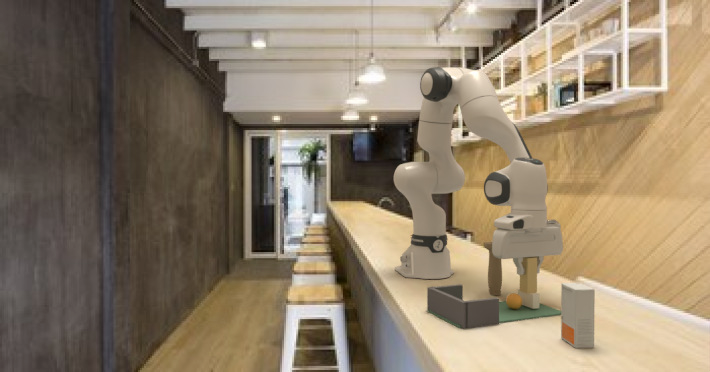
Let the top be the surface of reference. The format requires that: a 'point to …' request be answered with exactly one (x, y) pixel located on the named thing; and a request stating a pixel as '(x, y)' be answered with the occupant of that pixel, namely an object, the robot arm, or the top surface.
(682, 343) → the top surface
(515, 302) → the ball
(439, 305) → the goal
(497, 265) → the handle
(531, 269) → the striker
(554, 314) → the pitch
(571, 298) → the skincare box
